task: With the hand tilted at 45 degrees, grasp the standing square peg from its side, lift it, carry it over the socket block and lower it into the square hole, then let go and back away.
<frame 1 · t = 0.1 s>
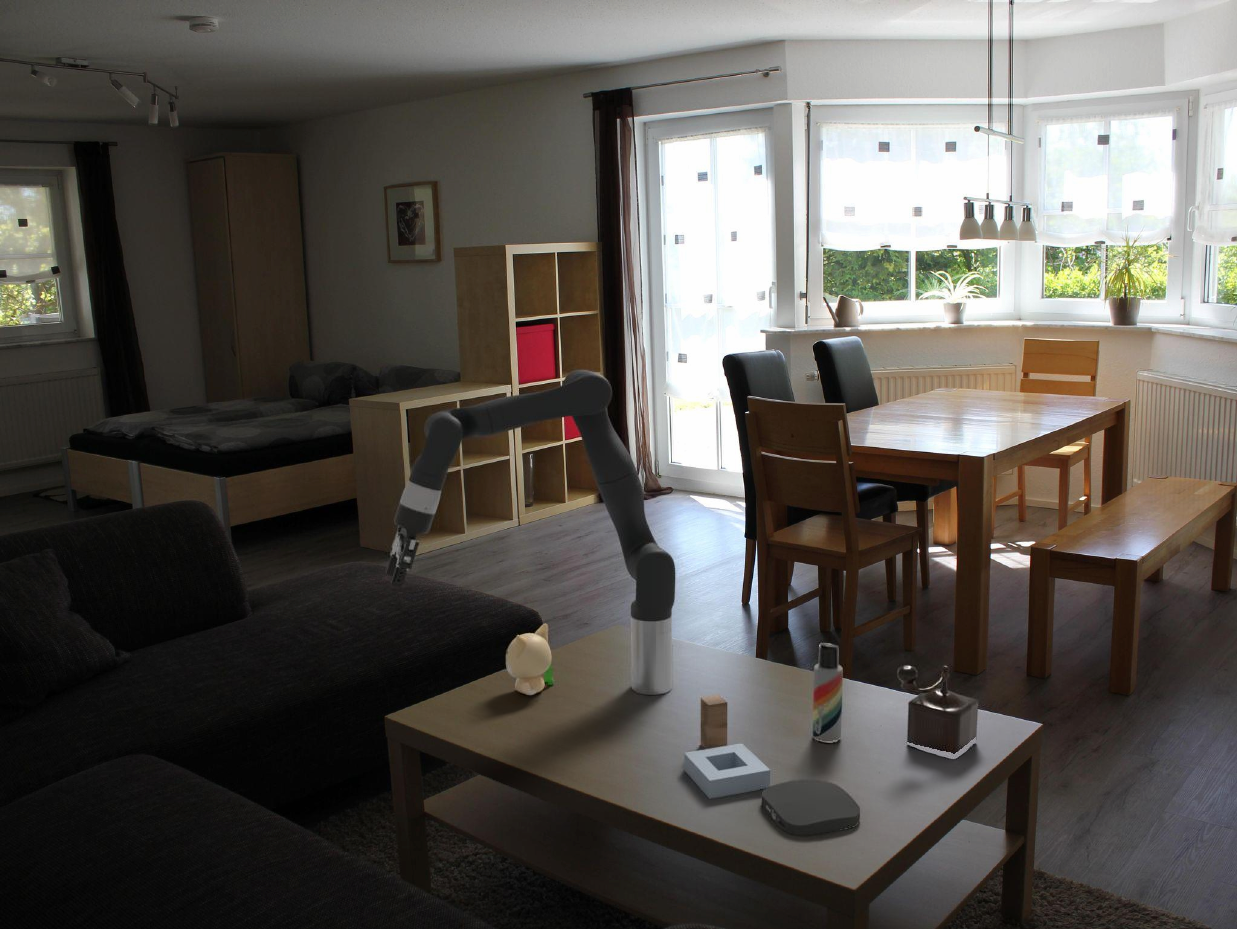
hand: (393, 580, 220), 31 cm above the table, tool tilted 20°, fingers open, 8 cm apart
peg: (713, 747, 213), on the table
socket: (726, 778, 199), on the table
kitten: (531, 691, 243), on the table
pepper mill: (934, 749, 211), on the table
lotion bottle: (826, 739, 216), on the table
media streaming box: (809, 814, 187), on the table
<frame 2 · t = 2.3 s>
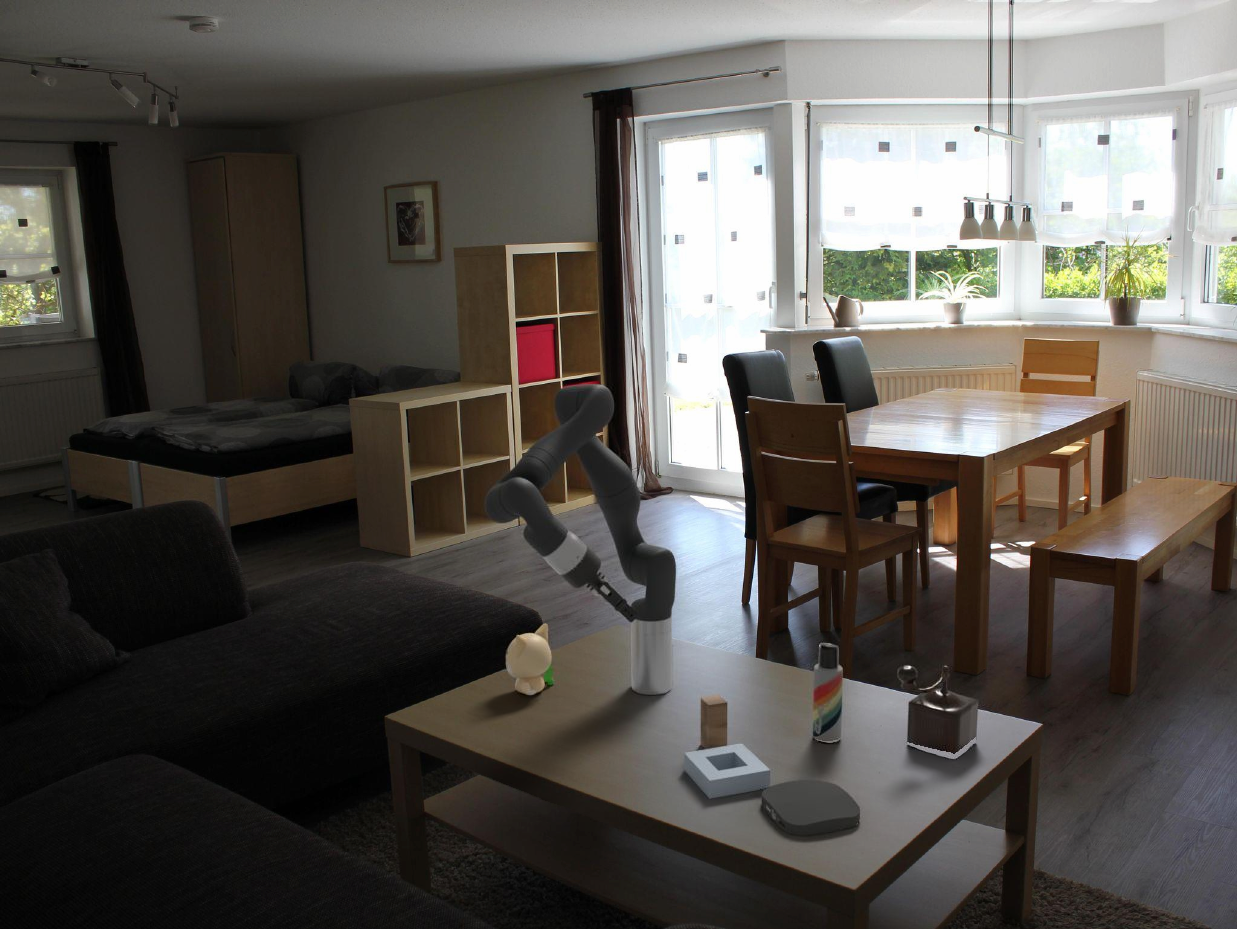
hand: (627, 612, 207), 28 cm above the table, tool tilted 45°, fingers open, 8 cm apart
nothing on the table moved.
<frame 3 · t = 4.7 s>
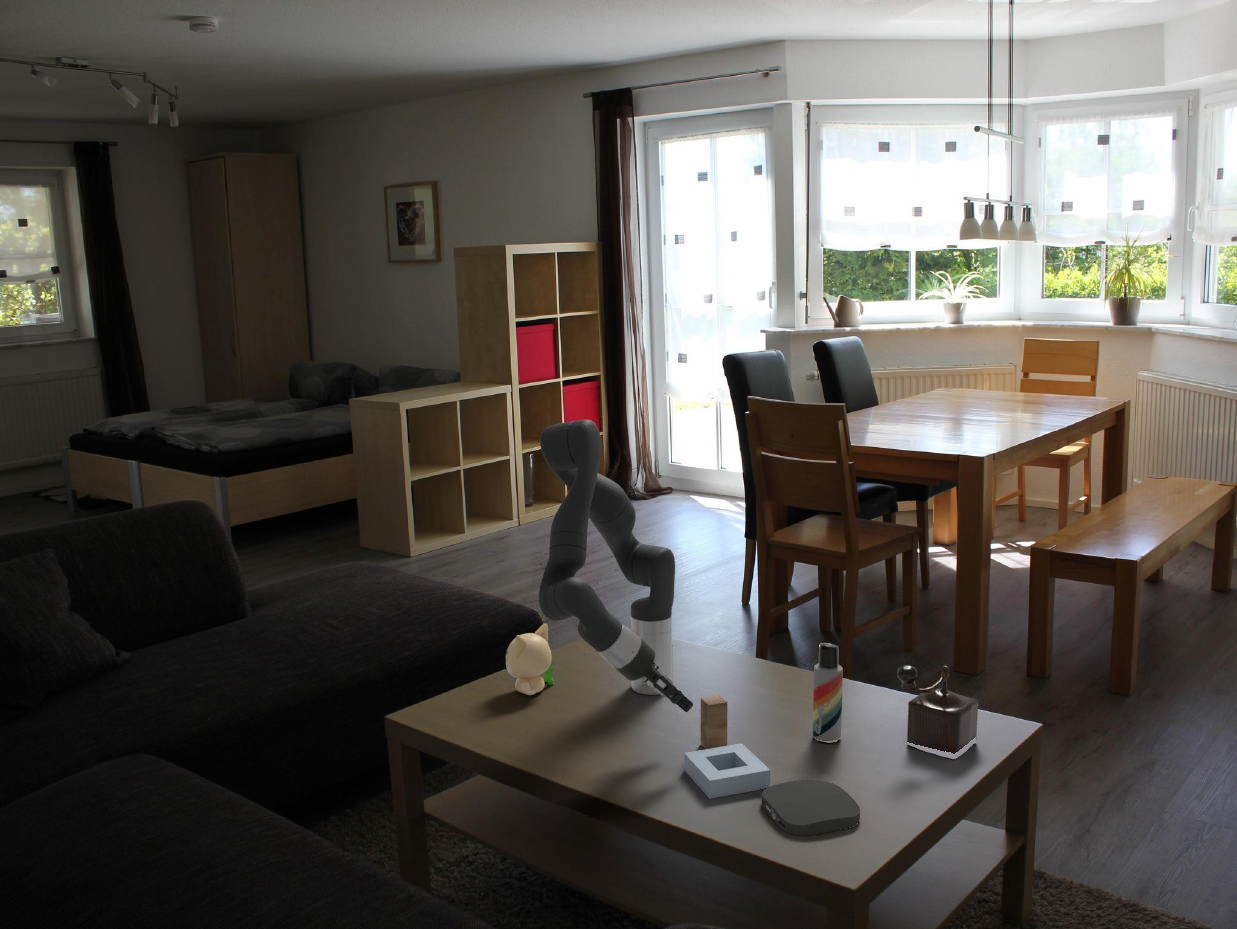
hand: (681, 699, 209), 11 cm above the table, tool tilted 45°, fingers open, 8 cm apart
nothing on the table moved.
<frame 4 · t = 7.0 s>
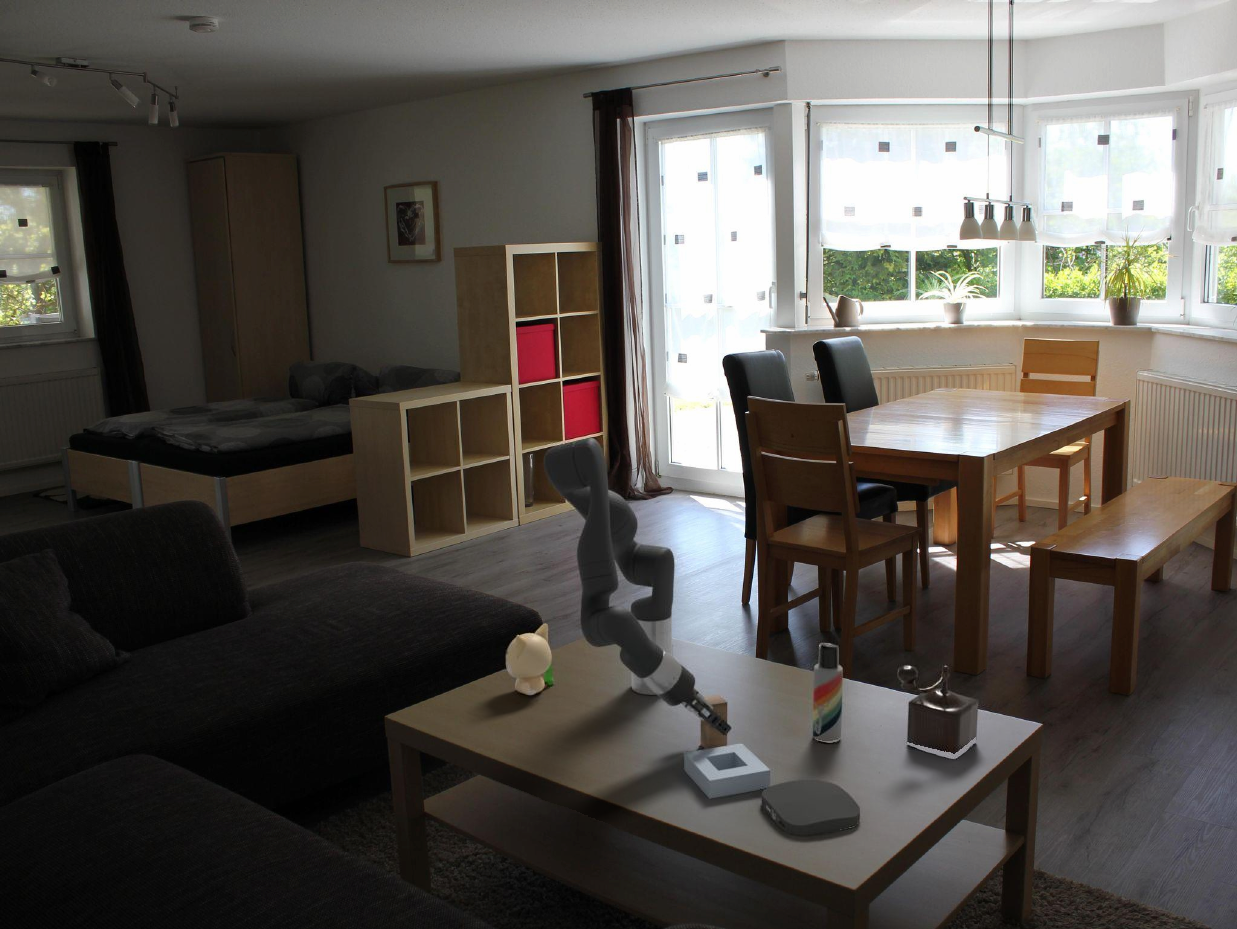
hand: (722, 726, 213), 4 cm above the table, tool tilted 45°, fingers closed on peg, 4 cm apart
peg: (713, 747, 213), on the table, touching gripper
everything else where it was.
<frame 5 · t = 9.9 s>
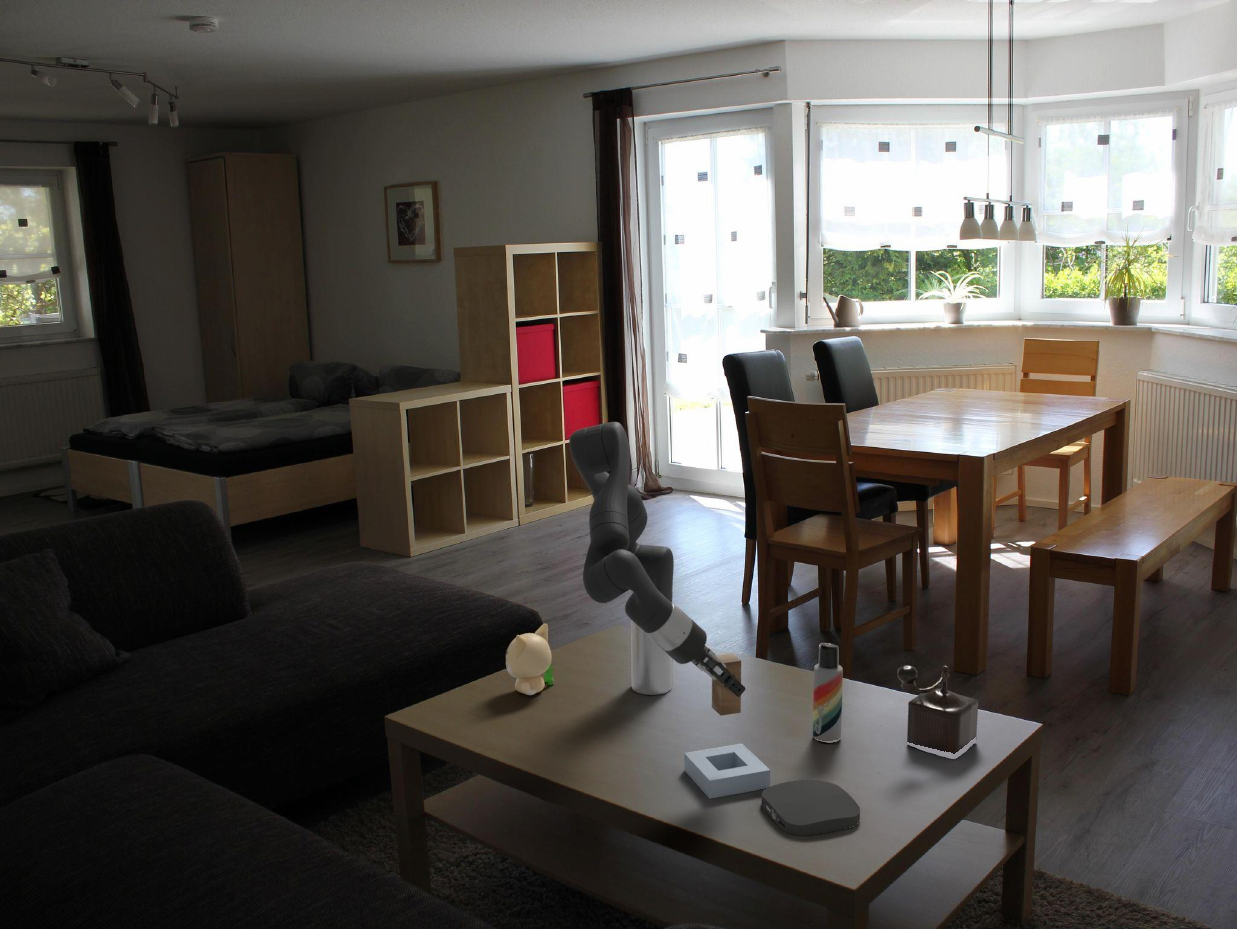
hand: (736, 687, 197), 18 cm above the table, tool tilted 45°, fingers closed on peg, 4 cm apart
peg: (726, 710, 197), point 14 cm above the table, touching gripper
everything else where it was.
when the fingers open (5 cm above the table, at t = 13.1 s): peg stays where it is, resting in socket.
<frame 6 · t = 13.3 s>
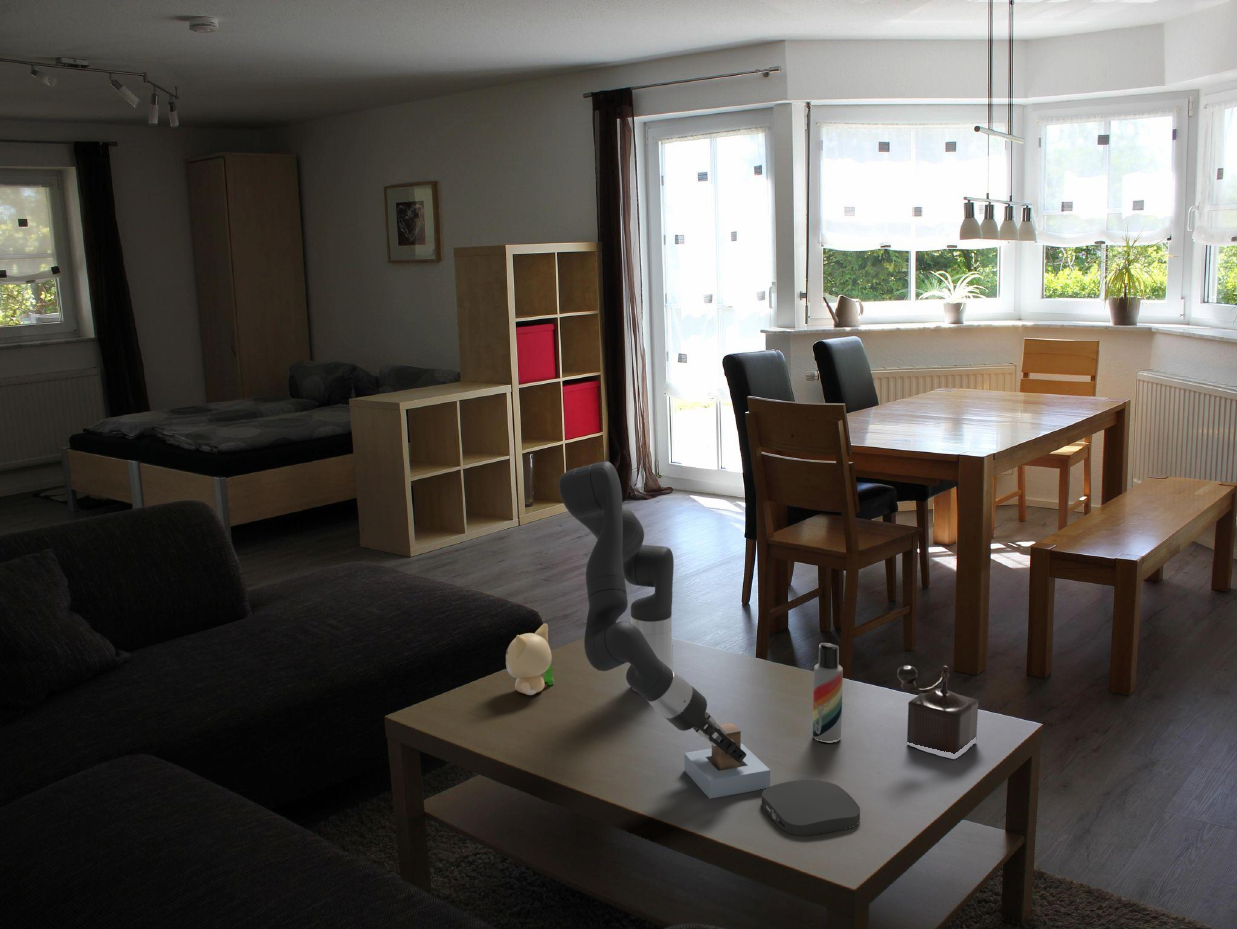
hand: (735, 751, 199), 5 cm above the table, tool tilted 45°, fingers open, 5 cm apart
peg: (725, 779, 199), resting in socket
everything else where it was.
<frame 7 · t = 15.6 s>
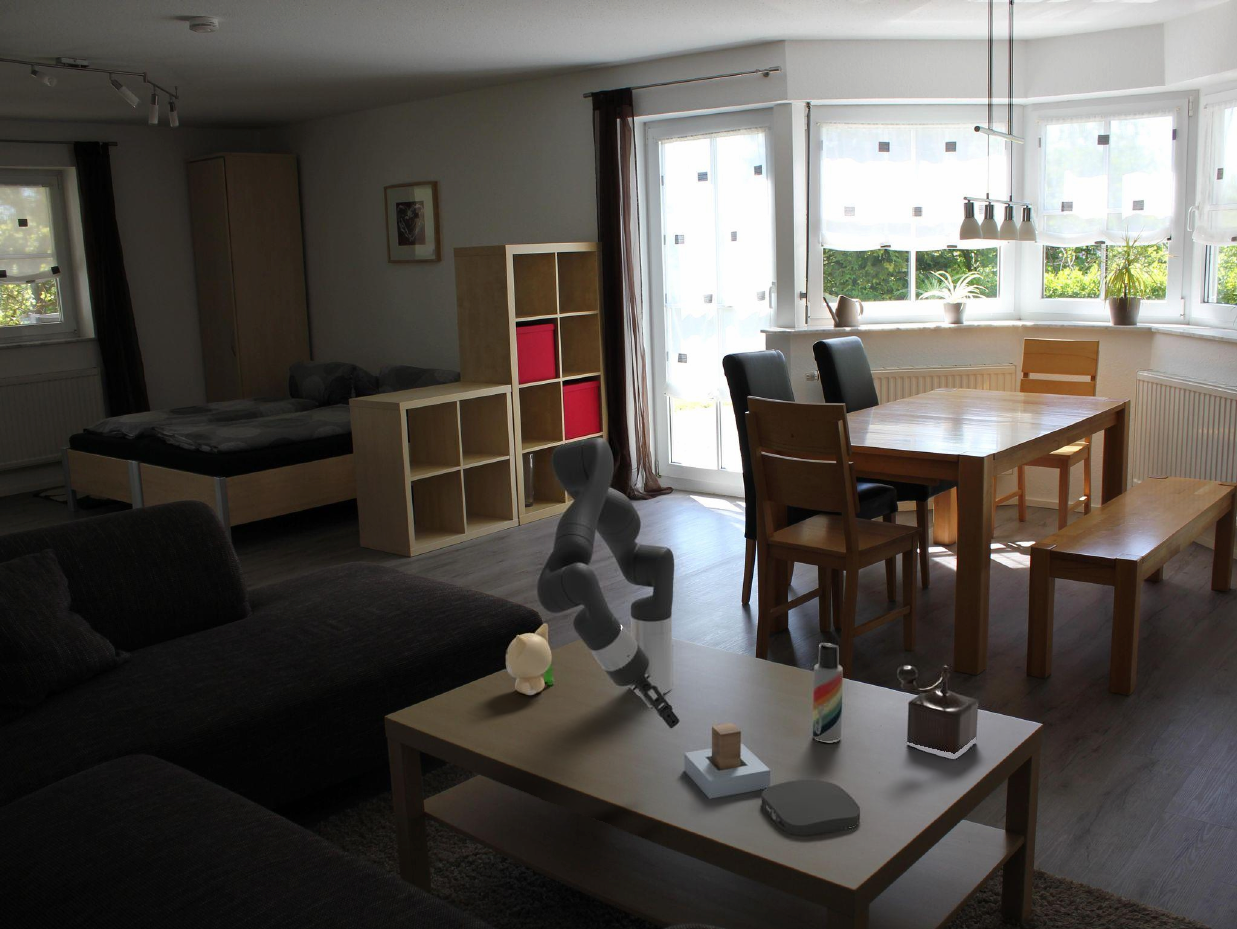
hand: (665, 714, 196), 13 cm above the table, tool tilted 35°, fingers open, 8 cm apart
nothing on the table moved.
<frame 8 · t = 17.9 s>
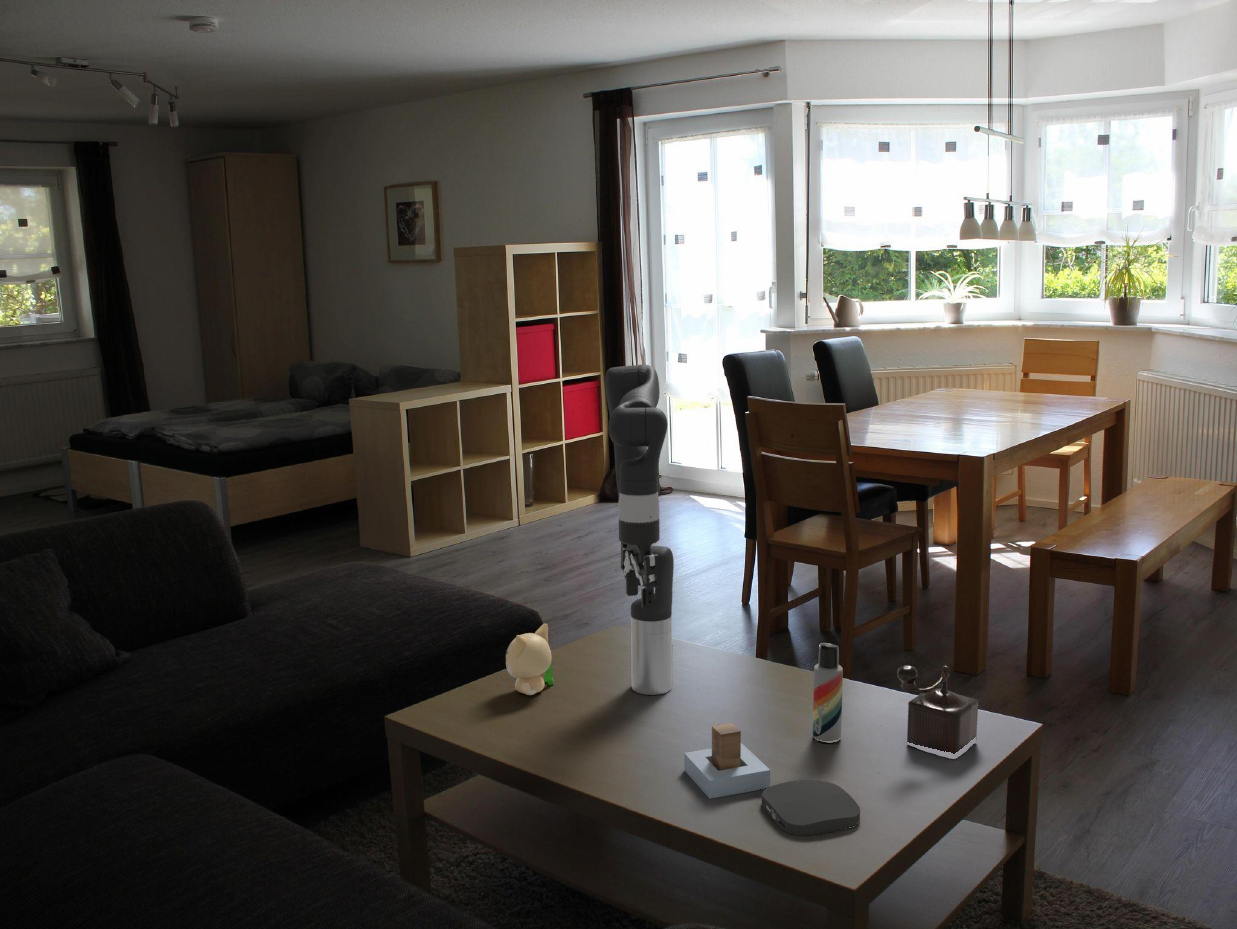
hand: (639, 601, 198), 33 cm above the table, tool pointing down, fingers open, 8 cm apart
nothing on the table moved.
at the end: peg 0.1 cm off-centre on the socket, point 0.0 cm above the socket's base; peg tilted 0°; the gripper is holding nothing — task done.
